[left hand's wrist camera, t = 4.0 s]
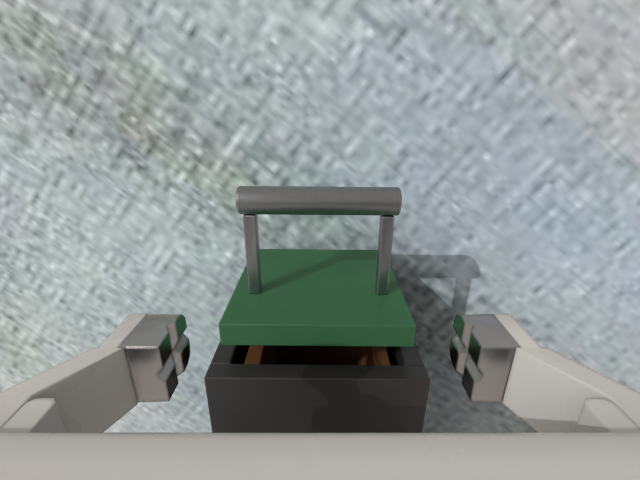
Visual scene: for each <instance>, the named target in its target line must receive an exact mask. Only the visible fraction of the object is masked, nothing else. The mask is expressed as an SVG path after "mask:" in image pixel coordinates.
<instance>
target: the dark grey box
mask: <svg viewBox="0 0 640 480" xmlns="http://www.w3.org/2000/svg"><path fill="white" fill-rule="evenodd" d="M249 346H250V345H221V341H220V343H219V345H218V348H217V350H216V352H215V355H214V357H213V359H212V362H211V364H210V366H209V369H208V371H207V373H206V376H205V385H206V392H207V399H208V406H209V413H210V419H211V426H212V433H422V428H423V422H424V416H425V409H426V403H427V396H428V390H429V384H430V379H429V376H428V374H427V371H426V368H425V366H424V364H423V361H422V359H421V356H420V353H419V351H418V348H417V346H416V343H414V347H386V349H387V353H388V357H389V361H390V364H391V365H289V364H244V363H245V360H246V356H247V353H248V350H249Z"/></svg>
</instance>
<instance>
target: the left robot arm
mask: <svg viewBox="0 0 640 480" xmlns="http://www.w3.org/2000/svg"><path fill="white" fill-rule="evenodd" d="M186 327H187V326H186V321H185V317H184V316H183V315H182V314H130V315H128V316H127V317H126V318H125V319H124V321H123V322H122V323H121V324H120V325H119V326H118V327H117V328H116V329H115V330H114V331H113V333H112V334H111V335H110V336H109V337H108V338H107V339H106V340H105V341H104V342H103V344H102V345H101V346H100V347H99V348H92V349H89V350H87V351H85V352H83V353H81V354H79V355H77V356H75V357H73V358H71V359H69V360H67V361H65V362H63V363H61V364H59V365H56V366H54V367H52V368H50V369H48V370H46V371H44V372H42V373H40V374H38V375H36V376H34V377H32V378H30V379H28V380H26V381H23V382H21V383H19V384H17V385H15V386H13V387H11V388H9V389H7V390H5V391H3V392H1V393H0V480H640V393H639V392H637V391H635V390H633V389H631V388H629V387H627V386H625V385H623V384H620V383H618V382H616V381H614V380H612V379H610V378H608V377H606V376H604V375H602V374H600V373H598V372H596V371H594V370H592V369H590V368H588V367H585V366H583V365H581V364H579V363H577V362H575V361H573V360H571V359H569V358H567V357H565V356H563V355H561V354H559V353H557V352H555V351H553V350H551V349H548V348H541V347H540V346H539V345H538V344H537V342H536V341H535V340H534V339H533V338H532V337H531V336H530V335H529V334H528V333H527V331H526V330H525V329H524V328H523V327H522V326H521V325H520V324H519V323H518V322H517V320H516V319H515V318H514V317H513V316H512V315H510V314H508V313H507V314H481V315H457V316H456V318H455V320H454V325H453V327H454V329H455V331H456V332H457V334H456V335H455V336H454V337H453V338H452V339H451V344H450V355H451V361H452V364H453V367H454V369H455V371H456V372H457V373H459V374H460V375H462V376H463V379H462V385H463V386H464V388H465V390H466V392H467V394H468V396H469V398H470V400H471V401H478V402H502V404H503V405H505V406H506V407H507V408H508V409H509V410H511V411H512V412H513V413H514V414H515V415H517V416H518V417H519V418H520V419H521V420H523V421H524V422H525V423H526V424H528V425H529V426H530V427H531V428H532V429H534V430H535V431H536V432H537V433H103V432H104V431H105V430H106V429H108V428H109V427H110V426H111V425H113V424H114V423H115V422H116V421H117V420H119V419H120V418H121V417H122V416H123V415H125V414H126V413H127V412H128V411H130V410H131V409H132V408H133V407H134V406H136V405H137V404H138V403H137V402H161V401H169V400H170V398H171V396H172V394H173V392H174V390H175V388H176V386H177V385H178V379H177V376H178V375H180V374H181V373H183V372H184V371H185V369H186V366H187V364H188V360H189V356H190V344H189V339H188V338H187V337H186V336H185V335H184V334H183V332H184V331H185V329H186Z"/></svg>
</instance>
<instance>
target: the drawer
mask: <svg viewBox="0 0 640 480" xmlns="http://www.w3.org/2000/svg"><path fill="white" fill-rule="evenodd" d="M401 204H402V195H401V190H400V188H398V187H290V186H239V187H238V188H237V192H236V207H237V211H238V213H239V214H244V215H243V221H244V233H245V246H246V259H247V265H246V267H245V269H244V271H243V273H242V276H241V278H240V280H239V282H238V284H237V286H236V288H235V291H234V293H233V295H232V297H231V299H230V301H229V304H228V306H227V308H226V310H225V312H224V314H223V316H222V319H221V321H220V323H219V331H220V339H221V345H250V346H249V350H248V353H247V356H246V360H245V363H244V364H289V365H391V364H390V361H389V357H388V353H387V349H386V347H414V343H415V335H416V327H417V326H416V324H415V321H414V319H413V316H412V314H411V312H410V309H409V307H408V305H407V302H406V300H405V298H404V295H403V293H402V290H401V288H400V286H399V283H398V281H397V279H396V276H395V274H394V272H393V269H392V267H391V265H390V260H391V249H392V238H393V226H394V216H393V215H399V213H400V210H401ZM257 214H288V215H380V227H379V240H378V250H285V249H259V235H258V219H257Z"/></svg>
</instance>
